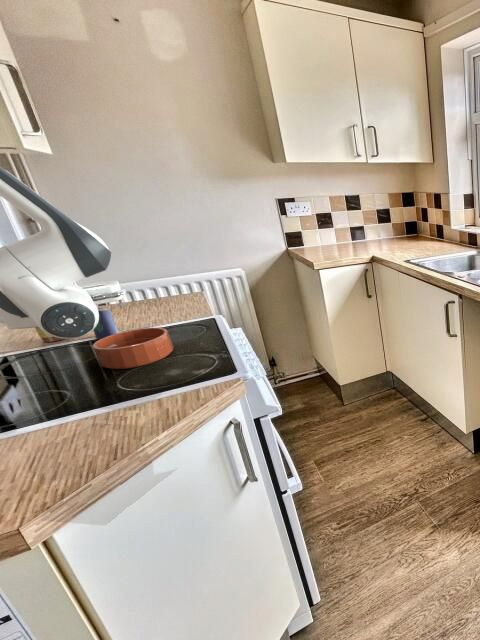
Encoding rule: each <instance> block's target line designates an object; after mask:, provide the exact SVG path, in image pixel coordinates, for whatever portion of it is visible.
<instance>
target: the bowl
mask: <svg viewBox="0 0 480 640" xmlns="http://www.w3.org/2000/svg"><path fill="white" fill-rule="evenodd" d="M92 348H93V350H94V352H95V354H96V357H97V359H98V362H99V364H100V366H101V367H102V368H105V369H110V370H125V369H132V368H137V367H142V366H146V365H149V364H152V363H155V362H157V361H160V360H162V359H164V358H166V357H168V356H169V355H170V354H171V353H172V352H173V351H174V345H173V342H172V340H171V337H170V334H169V331H168V329H166V328H164V327H142V328H136V329H129V330H126V331H121V332H120V331H119V333H117V334H114V335H110V336H107V337H105V338H102V339H99V340H97V341H95V342H94V343H93V344H92Z"/></svg>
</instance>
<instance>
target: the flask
mask: <svg viewBox="0 0 480 640" xmlns="http://www.w3.org/2000/svg"><path fill="white" fill-rule="evenodd" d="M99 305H100V304H98V305H96V306H97V309H98V312H99V321H98V324H97V326H96V327H95V328H94V331H93V333H94V337H95V338H96V339H99V340H100V339H102V338H105V337H107V336H110V335H114V334H117V333H120V331H119V329H118V326H117V324H116V321H115V319H114V316H113V314H112V311H111V308H109V307H101V306H99Z"/></svg>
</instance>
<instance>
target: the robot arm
mask: <svg viewBox="0 0 480 640" xmlns="http://www.w3.org/2000/svg"><path fill="white" fill-rule="evenodd" d="M0 197H1V198H2V199H4V200H5V201H6V202H8V203H9V204H11V205H12V206H14V207H15V208H17V210H19V211H20V212H22V213H23V214H25V215H26V216H28V218H30V219H32V220H33V221H35V222H36V224H37V223H38V224H39V226H40V230H39V231H38V232H36V233H34V234H31V235H29V236H27V237H25V238H22V239H20V240H17V241H15V242H13V243H11V244H10V243H9V244H8V245H4V246H1V247H0V324H4V325H5V327H6V328H7V329H8V330H21V329H32V328H35V327H39V328H40V329H41V330H42V331H44V332H45V333H47V334H49V335H51V336H53V337H57V338H62V339H64V340H72V339H78V338H81V337H82V338H83V337H85V336H87V335H88V334H90V333H92V332H93V331H92V330H93V329H94V328H95V327H96V326H97V324H98V321H99V312H98V309H97V306H96V305H102V304H108V303H114V302H119V301H121V300H123V299H124V297H125V295H127V294H128V291H127V290H126V289H125V288H122V287H121V284H120V282H119V281H118V280H115V279H112V280H111V279H110V280H105V281H98V282H93V283H92V282H91V283H85V284H79V285H77V284H75V283H77V282H79V281H81V280H83V279H85V278H90V277H92V276H94V275H97V274H100V273H102V272H105V271H107V269H108V267H109V265H110V262H111V258H112V251H111V250H110V248H109V247H108V245H107V243H106V242H105V241H104V240H103V239H102V237H101V238H100V236H99V235H97V234H96V233H95V232H94V231H92V230H90V229H89V228H87V227H85V226H84V225H82V224H80V223H79V222H77V221H75V220H73V219H71V218H70V217H69V216H67V215H66V214H65V213H63V212H62V211H61V210H59V209H58V208H57V207H56V206H54V204H52V203H51V202H50V201H48V200H47V199H45V198H44V197H42V195H40V194H39V193H37V192H36V191H35V190H33V189H32V188H31V187H29V186H28V185H27V184H25V183H24V182H22V181H21V180H20V179H19V178H18V177H16V176H15V175H13V174H12V173H11V172H9V171H8V170H7V169H5V168H4V167H2V166H0ZM91 331H92V332H91Z"/></svg>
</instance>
